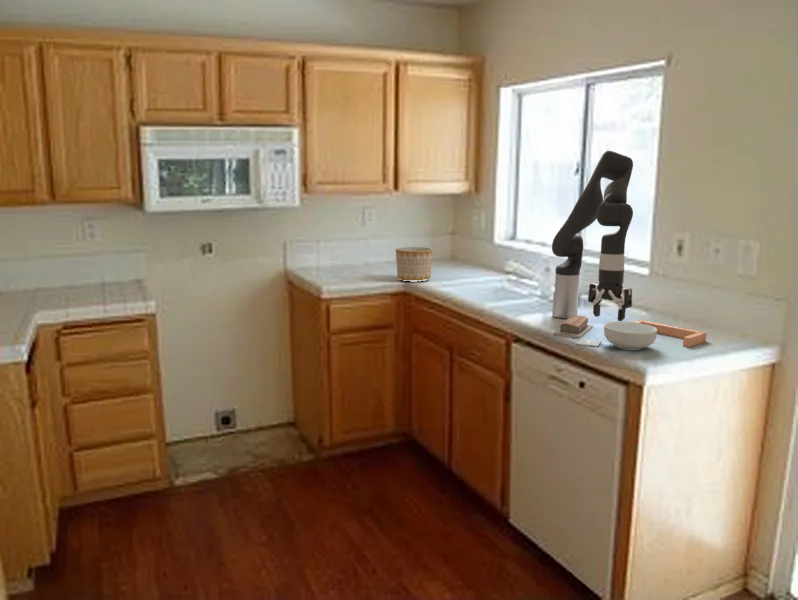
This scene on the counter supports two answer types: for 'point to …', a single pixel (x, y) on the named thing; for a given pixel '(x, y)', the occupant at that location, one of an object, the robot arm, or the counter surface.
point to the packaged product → (573, 327)
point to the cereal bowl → (630, 334)
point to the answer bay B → (679, 333)
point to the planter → (414, 263)
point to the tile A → (588, 342)
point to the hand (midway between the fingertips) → (608, 318)
